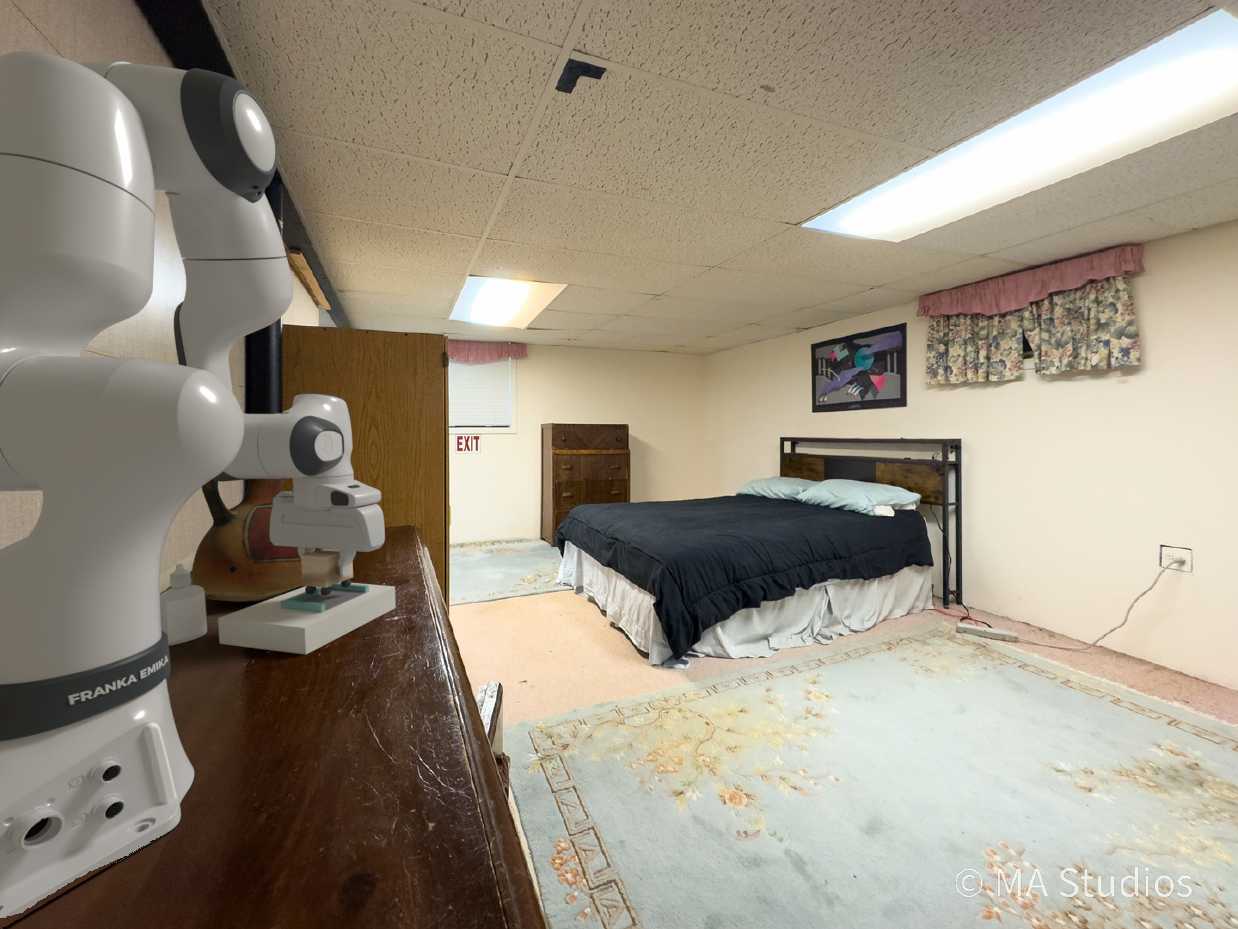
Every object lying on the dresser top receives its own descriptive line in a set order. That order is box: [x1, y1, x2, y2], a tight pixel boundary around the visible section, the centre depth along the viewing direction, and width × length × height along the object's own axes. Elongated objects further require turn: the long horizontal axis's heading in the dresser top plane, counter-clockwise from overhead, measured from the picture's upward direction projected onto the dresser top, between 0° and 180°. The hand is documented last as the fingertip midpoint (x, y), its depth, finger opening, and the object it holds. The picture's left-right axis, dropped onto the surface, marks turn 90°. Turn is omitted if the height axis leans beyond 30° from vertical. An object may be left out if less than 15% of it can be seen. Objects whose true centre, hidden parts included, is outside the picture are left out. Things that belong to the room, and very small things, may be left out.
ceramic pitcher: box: [191, 478, 317, 603], centre depth 101 cm, size 20×20×30 cm
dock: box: [217, 582, 397, 655], centre depth 87 cm, size 20×16×5 cm
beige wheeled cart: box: [301, 549, 354, 596], centre depth 87 cm, size 6×5×7 cm
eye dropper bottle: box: [160, 563, 208, 647], centre depth 80 cm, size 4×6×12 cm
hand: (327, 574), depth 87 cm, fingers closed on beige wheeled cart, 5 cm apart
